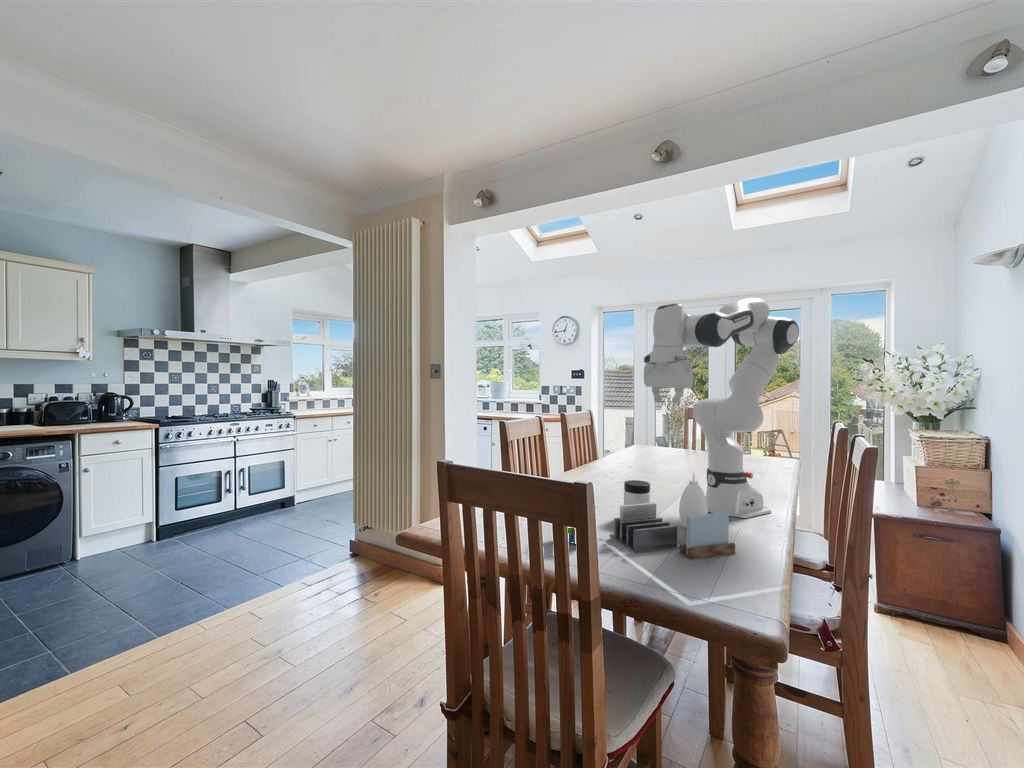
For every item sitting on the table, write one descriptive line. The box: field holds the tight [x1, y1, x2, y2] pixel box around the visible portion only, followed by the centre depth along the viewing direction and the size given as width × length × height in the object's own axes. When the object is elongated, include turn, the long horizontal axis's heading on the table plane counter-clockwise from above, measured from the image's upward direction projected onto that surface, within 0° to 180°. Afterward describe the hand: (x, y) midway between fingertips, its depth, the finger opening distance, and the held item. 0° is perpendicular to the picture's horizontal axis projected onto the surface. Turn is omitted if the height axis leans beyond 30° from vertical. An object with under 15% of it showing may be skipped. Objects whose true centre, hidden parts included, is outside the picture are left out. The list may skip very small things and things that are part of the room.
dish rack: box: [609, 502, 680, 554], centre depth 129 cm, size 14×14×10 cm
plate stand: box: [678, 542, 737, 561], centre depth 121 cm, size 14×5×3 cm, turn 107°
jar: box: [623, 479, 651, 505], centre depth 151 cm, size 9×8×12 cm
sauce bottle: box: [678, 472, 709, 529], centre depth 139 cm, size 8×8×18 cm
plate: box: [686, 512, 730, 555], centre depth 121 cm, size 12×1×10 cm, turn 107°
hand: (666, 402), depth 140 cm, fingers open, 8 cm apart
